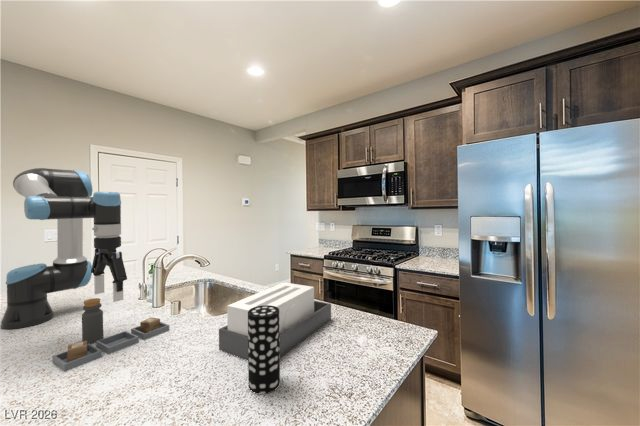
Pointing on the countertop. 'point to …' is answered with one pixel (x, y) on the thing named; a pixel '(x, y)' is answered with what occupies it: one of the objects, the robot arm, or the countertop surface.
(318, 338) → the countertop surface
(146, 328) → the cube
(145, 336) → the dish
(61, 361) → the dish
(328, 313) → the toaster caddy
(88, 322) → the bottle
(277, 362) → the spotted tube
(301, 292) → the toaster
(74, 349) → the cube
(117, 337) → the dish
